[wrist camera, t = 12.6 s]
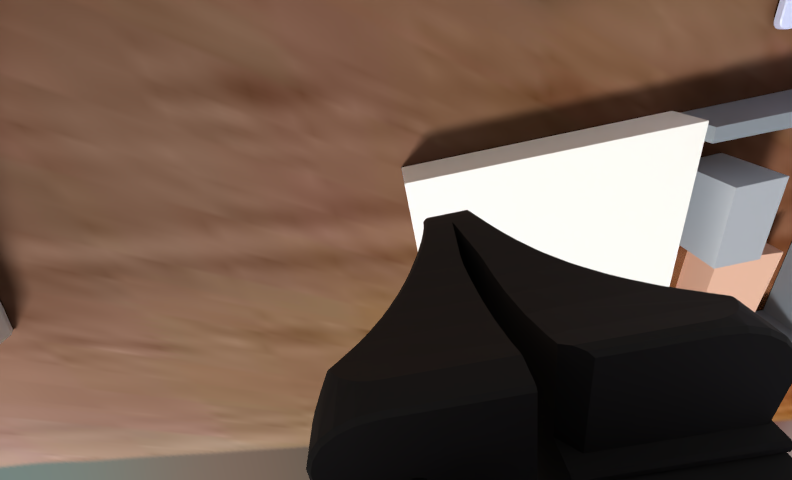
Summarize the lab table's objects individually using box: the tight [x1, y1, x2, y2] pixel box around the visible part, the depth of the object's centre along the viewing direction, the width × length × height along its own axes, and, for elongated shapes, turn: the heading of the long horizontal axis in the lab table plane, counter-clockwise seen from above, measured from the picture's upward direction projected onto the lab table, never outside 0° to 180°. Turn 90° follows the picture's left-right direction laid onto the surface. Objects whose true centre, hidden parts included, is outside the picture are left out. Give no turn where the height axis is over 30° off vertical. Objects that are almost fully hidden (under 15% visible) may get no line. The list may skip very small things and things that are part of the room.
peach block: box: [676, 243, 783, 312], centre depth 24 cm, size 4×5×2 cm
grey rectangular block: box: [679, 153, 789, 269], centre depth 21 cm, size 4×5×2 cm
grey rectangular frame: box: [681, 89, 792, 342], centre depth 22 cm, size 11×18×3 cm, turn 11°
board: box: [401, 111, 709, 287], centre depth 23 cm, size 15×18×2 cm
